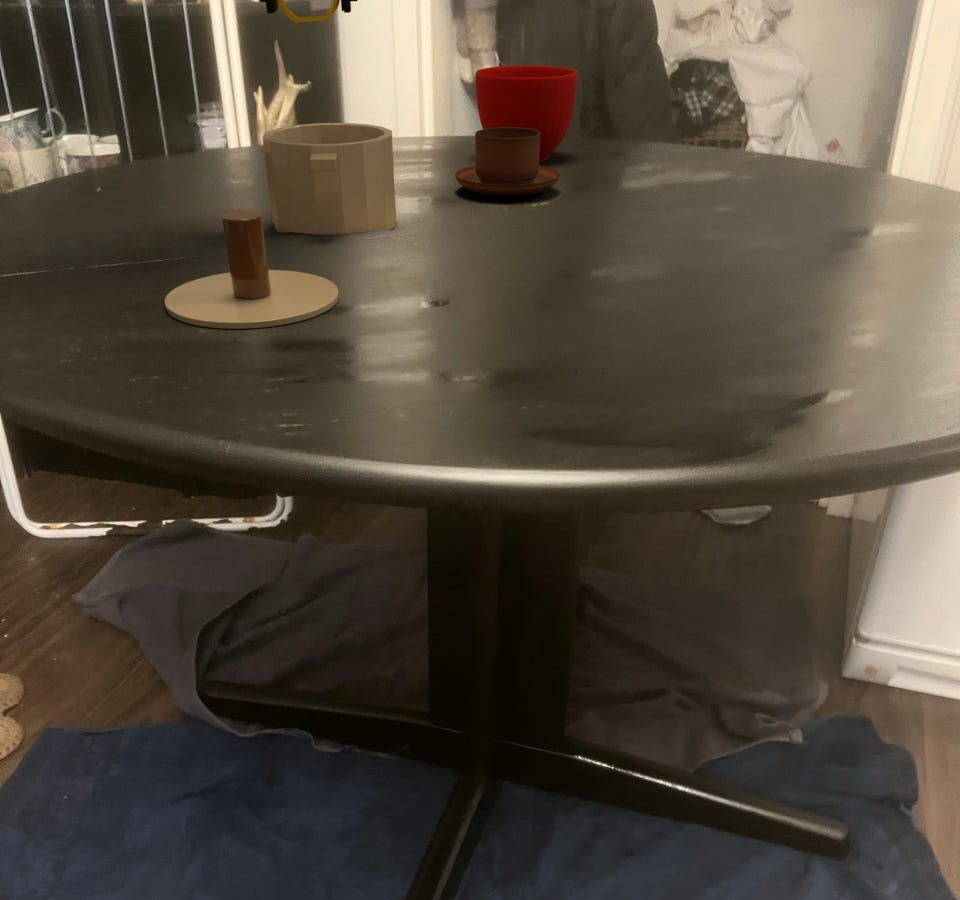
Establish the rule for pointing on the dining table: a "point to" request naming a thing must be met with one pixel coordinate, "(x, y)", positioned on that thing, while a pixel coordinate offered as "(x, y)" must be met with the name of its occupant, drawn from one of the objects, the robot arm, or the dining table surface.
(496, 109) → the ceramic cup
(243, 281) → the lid
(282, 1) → the watch
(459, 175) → the cup and saucer
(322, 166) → the pot
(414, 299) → the dining table surface
